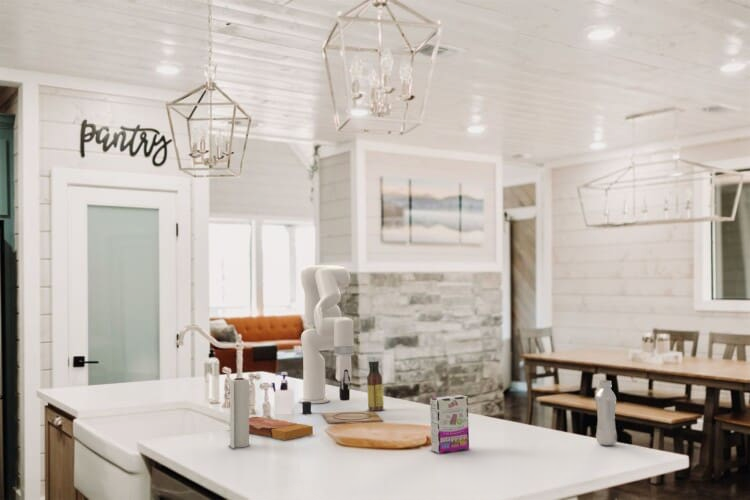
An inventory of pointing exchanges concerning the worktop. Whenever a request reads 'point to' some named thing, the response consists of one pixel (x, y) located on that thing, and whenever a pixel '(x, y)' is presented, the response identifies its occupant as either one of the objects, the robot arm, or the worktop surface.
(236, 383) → the tall grey block
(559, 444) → the worktop surface
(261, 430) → the brown flat block
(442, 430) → the candy bar box
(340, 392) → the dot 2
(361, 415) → the board
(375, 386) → the sauce bottle
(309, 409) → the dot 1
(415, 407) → the worktop surface
